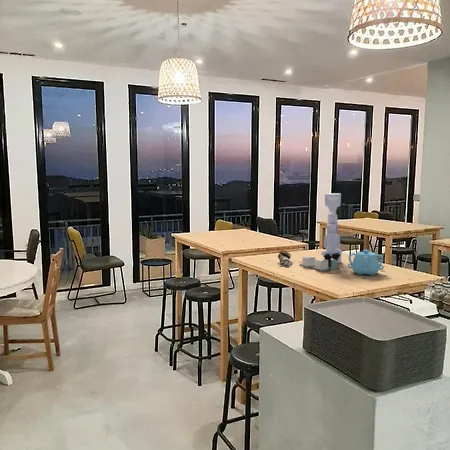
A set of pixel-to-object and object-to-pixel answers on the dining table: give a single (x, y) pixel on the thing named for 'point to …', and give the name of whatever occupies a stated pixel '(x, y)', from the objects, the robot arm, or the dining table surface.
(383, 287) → the dining table surface
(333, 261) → the block
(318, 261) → the block
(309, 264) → the mounted module
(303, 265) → the rail
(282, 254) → the figurine
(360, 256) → the decorative pot
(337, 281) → the dining table surface
